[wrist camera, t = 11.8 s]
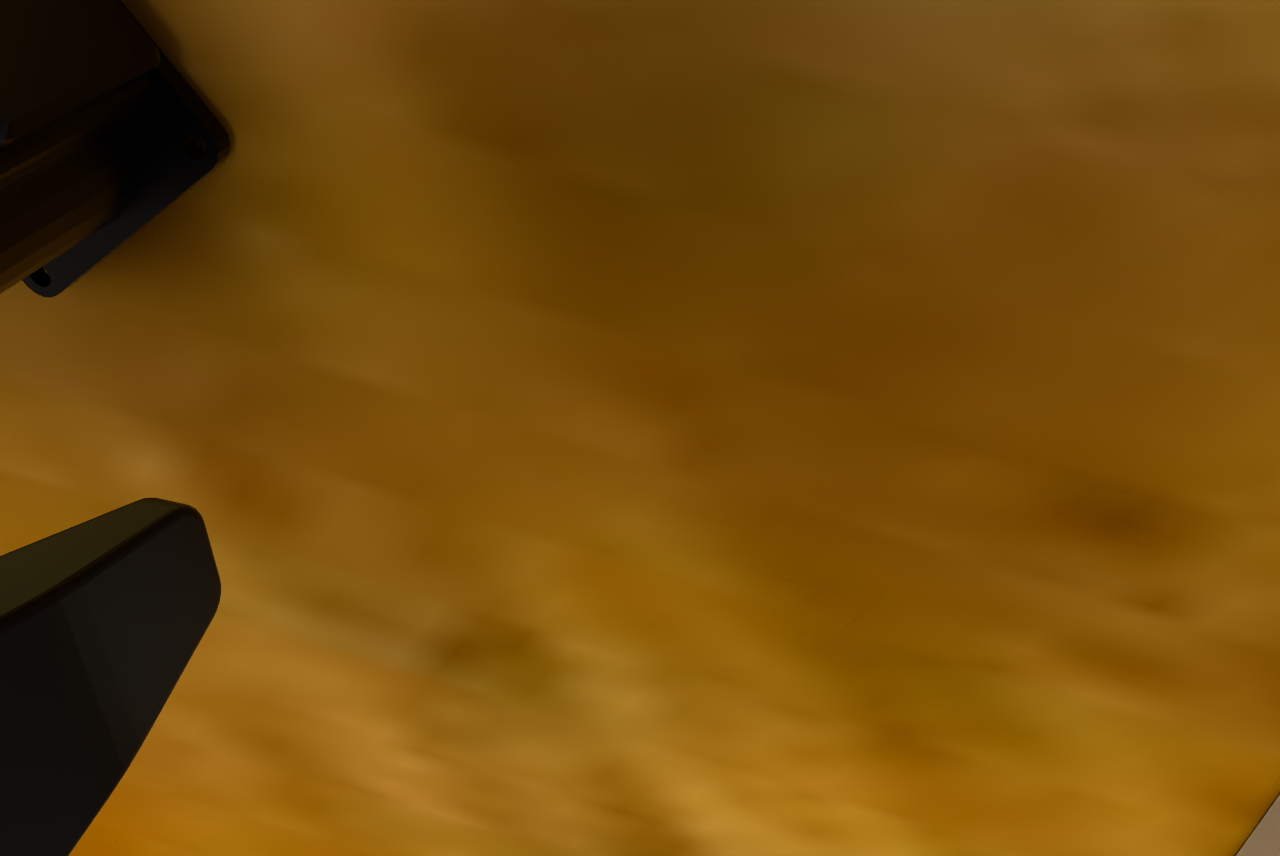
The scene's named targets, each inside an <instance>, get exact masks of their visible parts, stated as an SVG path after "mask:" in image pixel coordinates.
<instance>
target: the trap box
mask: <svg viewBox="0 0 1280 856" xmlns="http://www.w3.org/2000/svg"><path fill="white" fill-rule="evenodd" d="M1236 856H1280V795H1279V796H1278V798H1277V799H1276V800H1275V802H1274V803H1273V805H1272V806H1271V807H1270V809H1269V810H1268V812H1267V813H1266V814H1265V816H1264V817H1263V819H1262V820H1261V821H1260V823H1259V824H1258V826H1257V827H1256V828H1255V830H1254V831H1253V832H1252V834H1251V835H1250V837H1249V838H1248V839H1247V841H1246V842H1245V844H1244V845H1243V846H1242V848H1241V849H1240V851H1239V852H1238V853H1237V855H1236Z"/></svg>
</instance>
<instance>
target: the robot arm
mask: <svg viewBox="0 0 1280 856" xmlns="http://www.w3.org/2000/svg"><path fill="white" fill-rule="evenodd" d="M194 134H196V135H198V136H199V137H200V138H201V139H202V140H203V142H204V143H205V145H206V151H204V150H203V149H202V148H200V147H199V146H198V145H197V143H196V141H195V139H194ZM229 152H230V141H229V137H228V134H227V133H226V131H225V129H224V128H223V126H222V125H221V123H220V122H219V121H218V120H217V119H216V117H215V116H214V115H213V114H212V112H211V111H210V110H209V109H208V107H207V106H206V105H205V104H204V103H203V101H202V100H201V99H200V98H199V96H198V95H197V94H196V93H195V91H194V90H193V89H192V88H191V87H190V85H189V84H188V83H187V82H186V80H185V79H184V78H183V77H182V75H181V74H180V73H179V72H178V71H177V69H176V68H175V67H174V66H173V64H172V63H171V62H170V61H169V59H168V58H167V57H166V56H165V55H164V53H163V52H162V51H161V50H160V48H159V47H158V46H157V45H156V43H155V42H154V41H153V40H152V39H151V37H150V36H149V35H148V34H147V32H146V31H145V30H144V29H143V27H142V26H141V25H140V24H139V23H138V21H137V20H136V19H135V18H134V16H133V15H132V14H131V13H130V11H129V10H128V9H127V8H126V7H125V5H124V4H123V3H122V2H121V0H0V294H1V293H2V292H4V291H5V290H7V289H8V288H10V287H11V286H13V285H15V284H16V283H18V282H19V281H21V280H22V281H23V282H24V283H25V284H26V285H27V286H28V287H29V288H30V289H31V290H32V291H34V292H35V293H37V294H39V295H41V296H43V297H53V296H56V295H58V294H59V293H61V292H62V291H64V290H65V289H67V288H68V287H70V286H71V285H72V284H73V283H75V282H76V281H77V280H78V279H79V278H81V277H82V276H83V275H84V274H86V273H87V272H88V271H89V270H91V269H92V268H93V267H94V266H96V265H97V264H98V263H99V262H100V261H102V260H103V259H104V258H105V257H107V256H108V255H109V254H110V253H112V252H113V251H114V250H115V249H117V248H118V247H119V246H120V245H121V244H123V243H124V242H125V241H126V240H128V239H129V238H130V237H131V236H133V235H134V234H135V233H136V232H137V231H139V230H140V229H141V228H142V227H144V226H145V225H146V224H147V223H149V222H150V221H151V220H152V219H154V218H155V217H156V216H157V215H158V214H160V213H161V212H162V211H163V210H165V209H166V208H167V207H168V206H170V205H171V204H172V203H173V202H175V201H176V200H177V199H178V198H179V197H181V196H182V195H183V194H184V193H186V192H187V191H188V190H189V189H191V188H192V187H193V186H194V185H196V184H197V183H198V182H199V181H200V180H202V179H203V178H204V177H205V176H207V175H208V174H209V173H210V172H212V171H213V170H214V169H215V168H216V167H218V166H219V165H220V164H221V163H223V162H224V161H225V160H226V158H227V157H228V155H229ZM43 268H44V269H45V270H46V271H47V272H48V274H49V275H48V274H47V273H46V272H45V270H44V269H43ZM220 595H221V582H220V577H219V574H218V570H217V566H216V563H215V559H214V556H213V552H212V548H211V545H210V541H209V537H208V534H207V530H206V527H205V523H204V520H203V518H202V516H201V514H200V513H199V512H198V511H197V510H196V509H195V508H194V507H192V506H190V505H187V504H182V503H177V502H173V501H168V500H164V499H159V498H144V499H141V500H138V501H135V502H133V503H131V504H128V505H126V506H123V507H121V508H118V509H116V510H113V511H111V512H108V513H106V514H103V515H101V516H98V517H96V518H93V519H91V520H88V521H86V522H84V523H81V524H79V525H76V526H74V527H71V528H69V529H66V530H64V531H61V532H59V533H56V534H54V535H51V536H49V537H46V538H44V539H41V540H39V541H37V542H34V543H32V544H29V545H27V546H24V547H22V548H19V549H17V550H14V551H12V552H9V553H7V554H4V555H2V556H0V856H69V854H70V853H71V851H72V850H73V848H74V847H75V845H76V844H77V843H78V841H79V840H80V838H81V837H82V835H83V834H84V833H85V831H86V830H87V828H88V827H89V825H90V824H91V823H92V821H93V820H94V818H95V817H96V815H97V814H98V812H99V811H100V810H101V808H102V807H103V805H104V804H105V802H106V801H107V800H108V798H109V797H110V795H111V794H112V792H113V791H114V789H115V788H116V786H117V785H118V783H119V781H120V780H121V778H122V777H123V775H124V774H125V772H126V771H127V769H128V767H129V766H130V764H131V762H132V761H133V759H134V757H135V756H136V754H137V752H138V751H139V749H140V747H141V746H142V744H143V742H144V740H145V739H146V737H147V735H148V733H149V731H150V730H151V728H152V726H153V724H154V722H155V721H156V719H157V717H158V715H159V714H160V712H161V710H162V708H163V706H164V705H165V703H166V701H167V699H168V697H169V696H170V694H171V692H172V690H173V689H174V687H175V685H176V683H177V681H178V680H179V678H180V676H181V674H182V672H183V671H184V669H185V667H186V665H187V664H188V662H189V660H190V658H191V656H192V655H193V653H194V651H195V649H196V648H197V646H198V644H199V642H200V640H201V639H202V637H203V635H204V633H205V631H206V630H207V628H208V626H209V624H210V623H211V621H212V619H213V617H214V615H215V613H216V611H217V608H218V605H219V601H220Z"/></svg>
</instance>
